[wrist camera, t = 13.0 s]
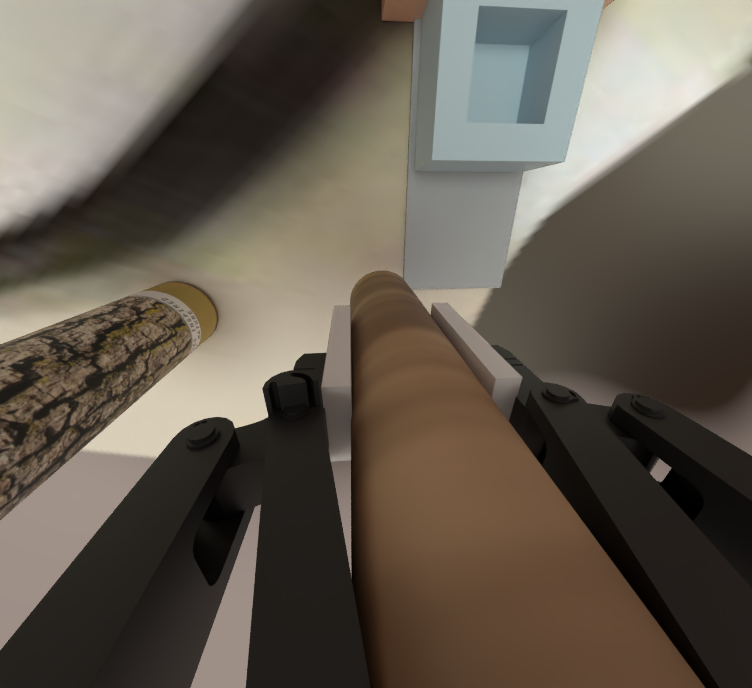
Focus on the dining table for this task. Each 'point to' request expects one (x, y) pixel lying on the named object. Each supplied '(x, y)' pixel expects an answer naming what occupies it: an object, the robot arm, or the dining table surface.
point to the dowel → (472, 531)
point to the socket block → (501, 82)
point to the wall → (414, 9)
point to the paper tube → (88, 377)
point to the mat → (454, 216)
